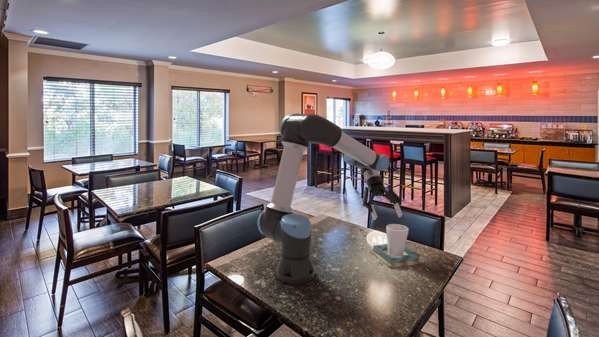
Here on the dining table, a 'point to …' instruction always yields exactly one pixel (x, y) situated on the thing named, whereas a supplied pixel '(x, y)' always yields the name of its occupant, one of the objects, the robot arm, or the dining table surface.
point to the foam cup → (396, 239)
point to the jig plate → (407, 259)
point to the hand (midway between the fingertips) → (388, 217)
